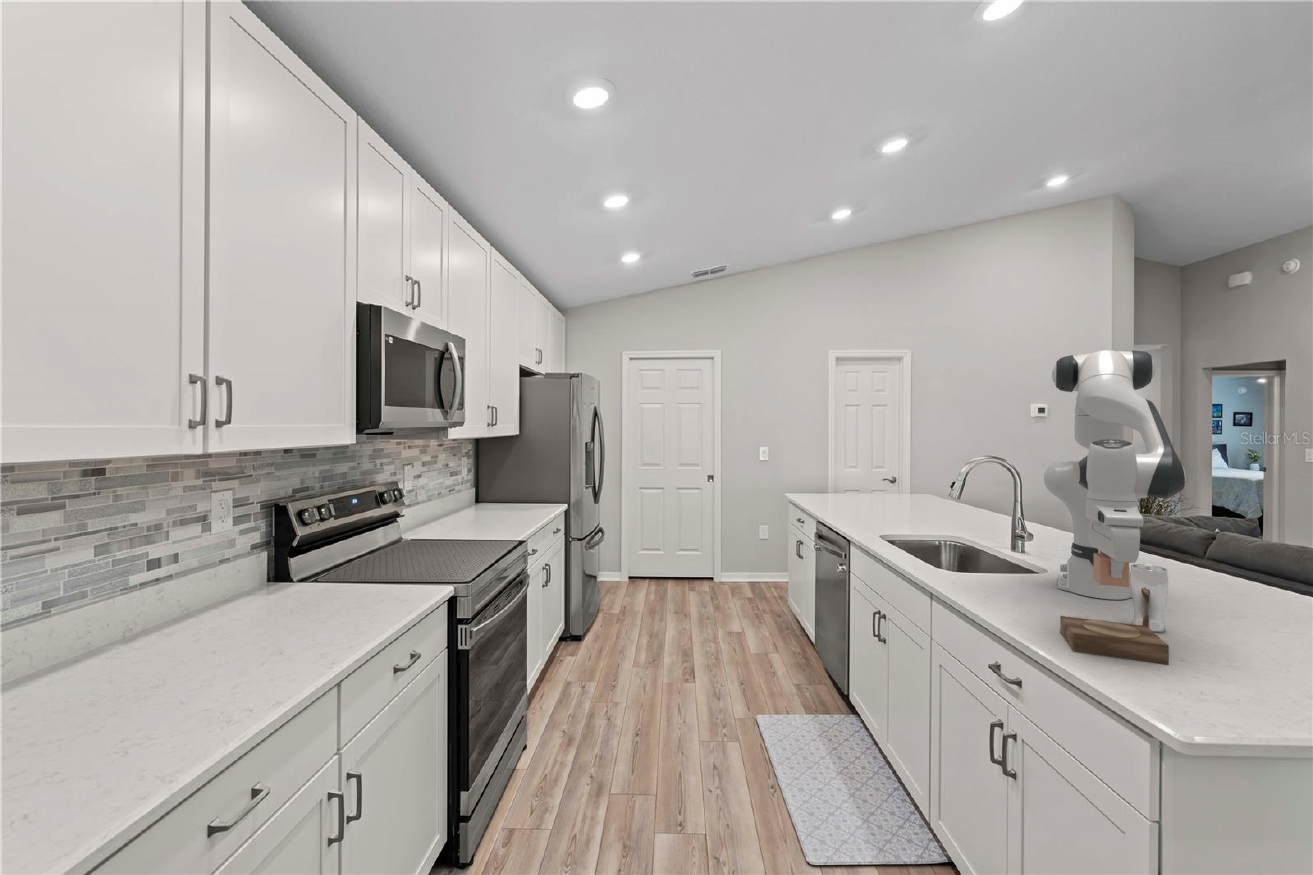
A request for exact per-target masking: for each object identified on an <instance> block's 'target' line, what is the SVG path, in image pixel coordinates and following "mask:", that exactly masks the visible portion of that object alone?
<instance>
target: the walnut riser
mask: <svg viewBox="0 0 1313 875" xmlns="http://www.w3.org/2000/svg"><path fill="white" fill-rule="evenodd" d="M1059 622H1060V623H1059V624H1060V625H1059V626H1060V628H1059V630H1060V633H1061V636H1062V637H1063V636H1064V637H1063V638H1064V640H1065V641H1066V642H1067V644H1068V646H1069V647H1070V648H1071V650H1072V651H1073V652H1077V653H1083V654H1090V655H1098V656H1103V655H1104V656H1105V657H1110V658H1111V657H1112V658H1119V659H1126V660H1132V659H1133V661H1139V660H1140V662H1146V663H1147V662H1149V663H1154V664H1163V665H1170V660H1169V659H1170V645H1169V644H1168V643H1167V642H1165V641H1164V640H1163V639H1162V638H1161V637H1160V636H1159V635H1157V634H1156V632H1153V631H1152V630H1150V629H1149V628H1148V627H1147V626H1142V625H1134V624H1132V623H1131V624H1130V623H1125V622H1115V621H1109V620H1101V619H1090V618H1081V617H1075V616H1074V617H1073V616H1064V615H1060V621H1059Z"/></svg>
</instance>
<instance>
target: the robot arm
mask: <svg viewBox="0 0 1313 875" xmlns="http://www.w3.org/2000/svg"><path fill="white" fill-rule="evenodd" d="M1156 370H1157V369H1156V362H1155V361H1154V359H1153V358H1152V355H1151V354H1150V353H1149V352H1148V351H1145V350H1133V349H1132V350H1131V351H1127V350H1126V351H1125V350H1117V351H1116V350H1112V349H1111V350H1110V349H1103V350H1097V351H1095V352H1092V353H1090V352H1089V353H1083V354H1078V355H1072V354H1071V355H1066V356H1063V357H1060V358H1059V359H1057V360H1056V363H1055V364H1054V366H1053V369H1052V372H1051V378H1052V381H1053V383H1054V385H1055V387H1056V389H1058V390H1059V391H1060V392H1066V393H1072V392H1077V394H1076V399H1075V408H1074V439H1075V441H1076V443H1077V444H1078V445H1080V446H1081V447H1083V448H1085V449H1087V450H1088V454H1087V455H1086V456H1085V457H1083V458H1082V459H1081V460H1078V461H1076V460H1074V461H1073V460H1072V461H1071V460H1070V461H1061V462H1055V463H1052V464H1050V465H1049V466H1048V467H1047V468H1046V470H1045V472H1044V474H1043V482H1044V486H1045V488H1046V489H1047V490H1048V491H1049V493H1051V494H1052V495H1054V497H1056V498H1058V499H1059V500H1060V501H1061V502H1062V503H1063V504H1064V505H1065V506H1066V508H1067V510H1068V511H1069V513H1070V516H1071V519H1072V520H1071V521H1072V526H1073V542H1072V543H1071V548H1070V550H1071V552H1070V553H1071V556H1070V557H1069V559H1067V561H1066V563H1063V564H1062V563H1061V564H1060V566H1059V568H1060V570H1059V571H1060V572H1062V573H1063V574H1059V575H1057V588H1058V590H1062V591H1067V592H1071V593H1073V594H1078V595H1081V596H1086V597H1089V598H1090V597H1091V598H1096V599H1104V600H1115V601H1117V600H1127V599H1130V598H1132V595H1131V590H1130V572H1131V567H1129V587H1120V586H1109V585H1100V584H1099V583H1098V582H1097V581H1095V580H1094V553H1100V554H1106V555H1108V556H1109V557H1110V558H1111V568H1110V575H1111V576H1112V577H1113V578H1122V570H1123V567H1124V565H1125V562H1127V563H1129V564H1136V562H1137V561H1138V559H1139V555H1140V544H1141V529H1140V528H1142V527H1144V522H1145V521H1144V517H1143V516H1142V514H1141V513H1140V510H1139V507H1138V506H1139V504H1138V503H1139V500H1138V499H1146V498H1148V497H1150V498H1156V499H1157V498H1158V499H1166V500H1167V499H1169V498H1171V497H1173V496H1175V495H1177V494H1179V493H1180V492H1182V491H1183V490H1184V489H1185V485H1186V482H1187V481H1186V480H1187V477H1186V476H1187V475H1186V471H1185V468H1184V466H1183V463H1182V461H1181V460H1180V458H1179V456H1178V454H1177V452H1176V450H1175V448H1174V446H1173V444H1172V441H1171V439H1170V437H1169V434H1168V431H1167V429H1166V427H1165V425H1164V422H1163V420H1162V417H1161V415H1160V413H1159V410H1158V409H1157V407H1156V405H1155V404H1154V403H1153V401H1151V400H1150V399H1147V398H1145V397H1143V396H1141V395H1140V394H1139V393H1138V392H1137V391H1138V390H1141V389H1144V388H1145V387H1147V386H1148V385H1150V384H1151V382H1152V379H1153V378H1154V376H1155V373H1156ZM1124 427H1126V428H1131V429H1133V430H1135V431H1136V432H1138V433H1139V434H1140V435H1141V437H1142V440H1143V443H1144V446H1145V447H1146V450H1147V453H1137V452H1136V448H1135V445H1134V443H1133V442H1131V441H1128V440H1126V439H1125V428H1124Z"/></svg>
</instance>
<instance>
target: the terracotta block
mask: <svg viewBox="0 0 1313 875" xmlns="http://www.w3.org/2000/svg"><path fill="white" fill-rule="evenodd" d="M1110 568H1111V558H1110V557H1109V556H1108V555H1106V554H1100V553H1094V580H1095V581H1097V582H1098V583H1099V584H1100V585H1109V586H1120V587H1129V568H1130V563H1127V562H1125V565H1124V567H1123V570H1122V578H1113V577H1112V576H1111V575H1110Z"/></svg>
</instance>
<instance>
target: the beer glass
mask: <svg viewBox="0 0 1313 875" xmlns="http://www.w3.org/2000/svg"><path fill="white" fill-rule="evenodd" d="M1168 575H1169V574H1168V568H1165V567H1162V566H1159V565H1154V564H1153V565H1152V564H1145V563H1144V564H1143V563H1131V565H1130V590H1131V595H1132V597H1131V598H1132V605H1133V618H1132V622H1131V624H1134V625H1142V626H1147V627H1148V628H1149V629H1150V630H1152V631H1153V632H1154V633H1157V632H1158V633H1161V632H1162V633H1165V632H1166V625H1165V622H1164V615H1165V614H1164V612H1165V608H1166V604H1167V601H1168V595H1169V576H1168Z"/></svg>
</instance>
